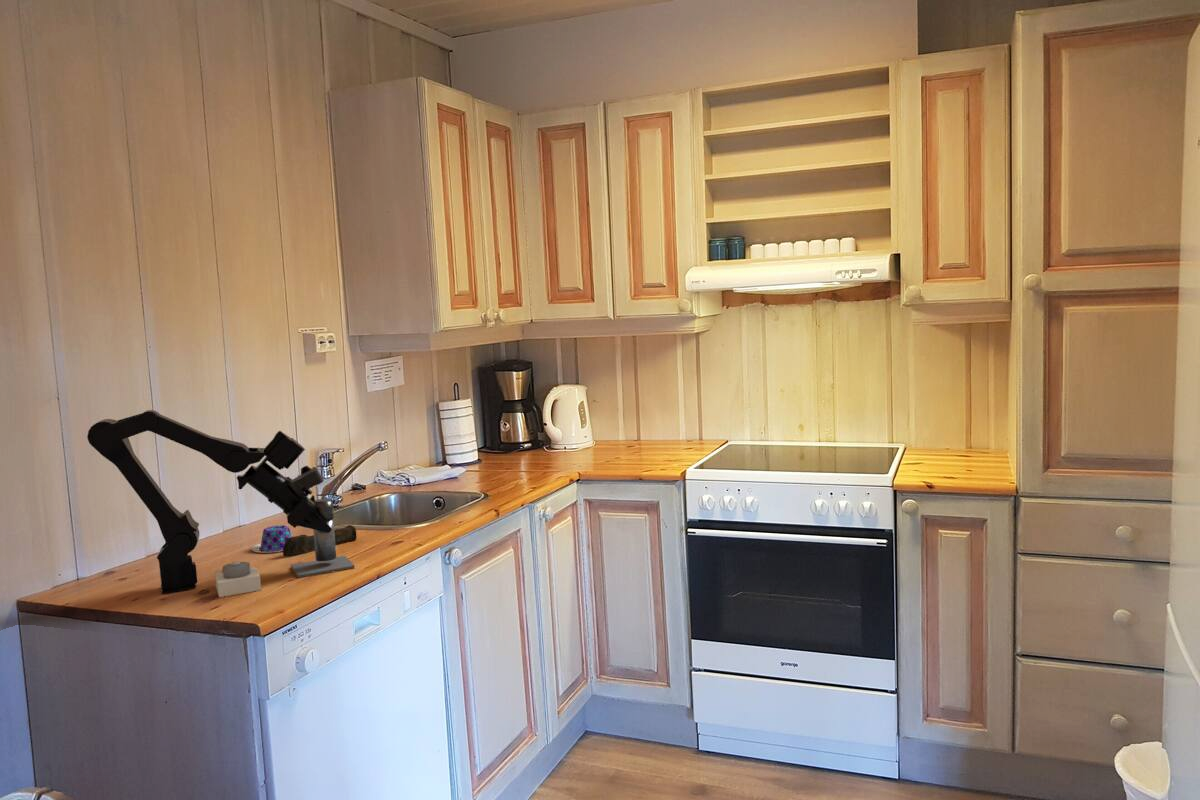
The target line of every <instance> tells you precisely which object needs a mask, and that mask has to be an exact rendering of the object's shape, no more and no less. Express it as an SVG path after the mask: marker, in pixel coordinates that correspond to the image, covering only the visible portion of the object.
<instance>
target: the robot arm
mask: <svg viewBox="0 0 1200 800" xmlns="http://www.w3.org/2000/svg"><path fill="white" fill-rule="evenodd" d="M147 431H148V432H152V433H154V434H156V435H158V436H160V437H163V438H165V439H166V440H167V439H168V440H170V441H173V442H175V443H178V444H180V445H182V446H184V447H187V448H189V449H191V450H194V451H196V452H198V453H201V454H202V455H204V456H206V457H207V458H208V459H209V460H211V461H212V462H214V463H216V464H217V465H219V466H221V467H222V468H223V469H225V470H226V471H227V472H230V473H235V474H237V473H240V472H244V471H245V470H246V469H247V468H248V467H249V468H248V469H247V470H246V471H245V473H243V474H242V475H241V474H240V475H237V476H236V480H237V483H238V489H239V490H242V489H243V488H245V486H246V485H247V484H248V485H250V486H251V487H252V488H253V489H255V490H256V491H258V492H259V493H260V494H261V495H262V496H264V497H265V498H266V499H267V501H268V502H269V503H271V504H274V505H276V506H277V507H278V508H279V509H281V510H282V512H283V513H284V514H285V515H286V518H287V524H289V526H291V527H293V528H294V529H295V528H296V527H303V528H306V529H309V530H310V529H311V530H313V529H315V530H319V531H323V532H327V533H329V532H330V531H331V530H332V528H331V527H330V526H329V525H328V524H327V523H326V522H325V520H324V519H323V518H322V517H321V516H320V515H319V514H318V513H317V512H316V503H315V502H313V501H314V500H316V499H315V496H314V494H313V491H312V489H311V488H313V487H315V486H316V485H320V484H322V483H323V482H324V478H323V476H322V474H321V473H320V471H319V470H318V467H317V466H315V467H314V466H313V467H310V466H309V465H304V466H303V467H301V468H300V475H297V477H294V478H293V479H292V478H291V477H290V476H284V475H282V474H281V473H280V472H279V471H281V470H283V469H284V468H285V469H287V470H289V468H290V467H291V466H292V465H293V464H294V463H295V461H297V459H298V458H299V457H300V456H301V455H302V454H303V453H304V452H305V450H306V449H305V448H304V446H303V445H302V444H301V443H299V442H298V441H297V440H296V439H294V438H293V437H290V436H289V435H287V434H286V433H284V432H283V431H282V430H278V431H277V432H276V434H275V435H274V436H273V438H272V439H271V440H270V441H269V442H268V444H266V445H265V447H248V446H247V445H246V444H244V443H242V442H238V441H235V440H230V439H227V438H226V439H225V438H220V437H215V436H211V435H209V434H207V433H205V432H202V431H200V430H197V429H195V428H192V427H190V426H189V425H186V424H184V423H181V422H179V421H177V420H175V419H172V418H170V417H167V416H165V415H162V414H160V413H159V412H158V411H156V410H153V409H148V410H146V411H144V412H142V413H141V412H140V413H138V414H134V415H131V416H127V417H124V418H122V419H118V420H117V419H112V418H105V419H102V420H98V421H97V422H95V423H94V424H92V426H90V427H89V429H88V431H87V436H86V437H87V442H88V443H89V445H90V446H92V448H93V449H95V450H96V451H97V452H98V453H99V454H100V455H101V456H102V457H103V458H105V459H107V461H110V463H112V464H113V465H114V466H115V467H116V469H118V471H119V472H120V473H121V475H122V476H123V477H124V478H125V480H126V481H127V482H128V484H129V485H130V486H131V488H132V489H133V490H134V492H135V493H136V495H137V496H138V497H139V499H140V500H141V502H142V503H144V505H145V507H146V508H147V509H148V511H149V512H150V513H151V514H152V516H153V517H154V518H155V520H156V522H157V524H158V526H159V530H160V533H161V535H162V538H163V539H164V541H165V543H164V544H163V545H162V546H161V547H160V549H159V552H158V554H157V556H156V559H157V560H158V565H159V575H160V591H161V594H168V593H174V592H180V591H187V590H191V589H193V590H194V589H196V585H197V583H198V574H197V573H198V572H197V566H196V562H195V561H193V557H192V555H191V554H189V553H192V551H193V550H194V549H195V548H196V546H197V544H198V542H199V538H200V529H199V525H200V523H199V522H197V521H196V520H195V519H194V518H193V517H192V514H191V512H190V510H189V509H186V510H185V511H184V512H181V511H179V510H178V509H177V508H176V507H175V506H174V505H173V504H172V502H171V501H170V500H169V499H168V497H167V496H166V494H165V493H164V492H163V490H162V489H161V487H160V486H159V485H158V484H157V482H156V481H155V480H154V478H153V477H152V476H151V474H150V473H149V471H148V470H147V469H146V467H145V466H144V465H143V463H142V462H141V461H140V459H139V458H138V456H136V454H135V452H134V449H133V446H132V444H131V441H130V439H129V438H131V437H133V436H136V435H140V434H142V433H145V432H147ZM262 459H263V460H262ZM259 462H260V463H259ZM267 462H269V463H270V464H271V465H272V466H274V467H275V468H276V469H278V470H279V471H278V470H276V469H275V468H273V467H272V466H271V465H270V464H269V463H267ZM257 463H258V464H257ZM252 464H257V466H254V465H252ZM250 465H251V466H250ZM312 494H313V495H312ZM309 495H311V497H310V498H309V497H308V496H309Z"/></svg>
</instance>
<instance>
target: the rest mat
mask: <svg viewBox="0 0 1200 800" xmlns="http://www.w3.org/2000/svg"><path fill="white" fill-rule="evenodd" d="M354 567H355V564H354V563H353V562H352V561H351V560H350V559H349V558H348V557H347V556H346V555H340V556H336V558H335V559H333V560H329V561H316V560H311V561H306V562H299V563H293V564H290V569H292V571H293V572H294V574H295V576H296V577H297V578H298V579H301V578H300V577H302V578H307V577H306V576H308V577H311V576H312V575H313V576H317V574H319V575H323V574H322V573H325V574H328V573H327V572H330V573H333V572H332V571H336V572H338V571H337V570H342V571H344V570H343V569H347V570H349V569H348V568H353V569H355V568H354Z"/></svg>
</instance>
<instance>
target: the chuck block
mask: <svg viewBox="0 0 1200 800" xmlns="http://www.w3.org/2000/svg"><path fill="white" fill-rule="evenodd" d="M214 579H215V580H214V581H215V588H216V592H217V594H218V597H219V598H224V596H225V597H229V596H235V595H241V594H247V593H252V592H256V591H257V592H258V591H261V590H262V583H261V576H260V574H259V572H258V569H257V568H256V567H255V566H253V567H251V565H250V562H248V561H233V562H231V563H227V564H225V565H223V566H222V572H217V573H214Z"/></svg>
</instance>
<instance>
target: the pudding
mask: <svg viewBox="0 0 1200 800" xmlns="http://www.w3.org/2000/svg"><path fill="white" fill-rule="evenodd" d="M291 537H293V535H292V532H291V529H290V527H289V526H287V525H282V524H281V525H272V526H268V527H266V528H264V529H263V530H262V536H261V542H260V543H258V544H255V545H254V546H252V547H251V551H253V552H255V553H264V554H265V553H279V552H283V548H284V544H285V541H286V540H287V539H288V538H291ZM259 547H260V549H259V550H260V551H258V548H259ZM261 551H262V552H261Z"/></svg>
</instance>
